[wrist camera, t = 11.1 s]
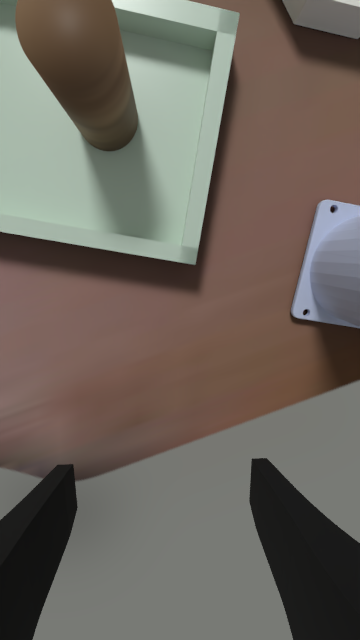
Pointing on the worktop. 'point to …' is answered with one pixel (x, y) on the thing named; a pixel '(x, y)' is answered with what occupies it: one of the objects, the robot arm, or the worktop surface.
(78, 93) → the dowel pin
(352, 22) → the white octagonal ring
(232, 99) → the worktop surface
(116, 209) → the tray
